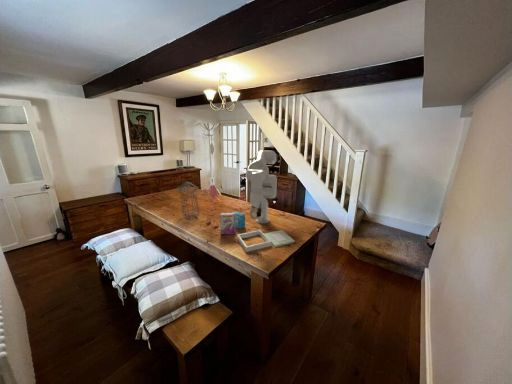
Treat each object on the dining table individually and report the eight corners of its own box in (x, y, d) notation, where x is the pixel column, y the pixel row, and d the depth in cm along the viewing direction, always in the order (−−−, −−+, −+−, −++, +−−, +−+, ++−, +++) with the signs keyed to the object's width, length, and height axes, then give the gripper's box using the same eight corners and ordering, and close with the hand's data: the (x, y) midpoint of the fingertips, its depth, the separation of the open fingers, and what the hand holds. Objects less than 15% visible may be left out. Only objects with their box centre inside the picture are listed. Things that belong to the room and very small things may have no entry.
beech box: (249, 217, 137) (249, 206, 135) (259, 214, 142) (259, 204, 139) (253, 219, 133) (253, 208, 131) (263, 217, 138) (263, 206, 135)
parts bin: (237, 238, 147) (237, 234, 146) (259, 234, 154) (259, 230, 153) (246, 251, 131) (246, 247, 130) (271, 245, 138) (271, 241, 137)
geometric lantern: (202, 218, 184) (199, 181, 173) (186, 222, 174) (181, 185, 164) (195, 212, 195) (192, 178, 185) (180, 217, 186) (175, 181, 175)
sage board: (263, 235, 152) (263, 233, 151) (281, 231, 158) (281, 229, 158) (275, 247, 136) (275, 245, 136) (294, 242, 142) (294, 240, 142)
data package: (231, 225, 168) (230, 212, 165) (234, 223, 172) (233, 210, 169) (242, 229, 162) (241, 215, 159) (245, 227, 166) (245, 214, 162)
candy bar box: (220, 234, 153) (219, 215, 148) (221, 231, 158) (220, 212, 153) (235, 234, 153) (234, 215, 149) (235, 231, 158) (234, 212, 154)
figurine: (216, 230, 159) (215, 189, 150) (200, 221, 176) (198, 183, 167) (231, 225, 170) (231, 185, 160) (214, 216, 187) (213, 180, 178)
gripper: (245, 188, 137) (245, 212, 142) (259, 194, 123) (258, 220, 128) (254, 186, 141) (254, 210, 146) (268, 192, 127) (268, 218, 132)
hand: (256, 214), depth 137 cm, fingers closed on beech box, 5 cm apart
